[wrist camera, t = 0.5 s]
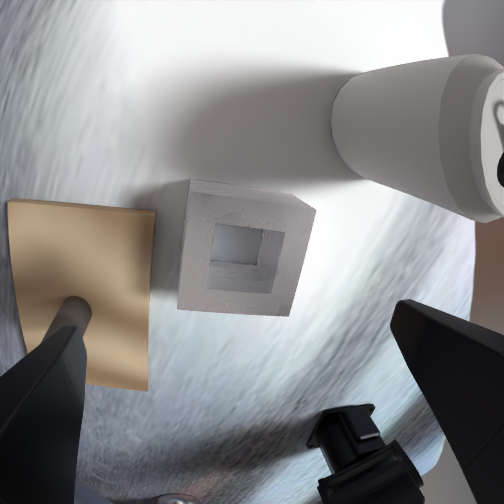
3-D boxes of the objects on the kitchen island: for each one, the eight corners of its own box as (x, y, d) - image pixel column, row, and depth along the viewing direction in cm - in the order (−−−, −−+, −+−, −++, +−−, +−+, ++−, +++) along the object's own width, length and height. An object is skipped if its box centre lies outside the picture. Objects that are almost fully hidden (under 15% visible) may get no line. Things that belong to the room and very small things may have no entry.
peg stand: (148, 382, 23) (144, 441, 18) (36, 365, 21) (14, 416, 15) (156, 211, 19) (144, 246, 13) (14, 198, 16) (-36, 225, 11)
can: (342, 193, 21) (476, 264, 10) (309, 84, 18) (450, 52, 7) (423, 162, 21) (556, 204, 10) (400, 66, 18) (541, 54, 7)
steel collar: (271, 285, 22) (288, 316, 18) (178, 277, 20) (177, 309, 17) (292, 194, 20) (316, 209, 16) (190, 179, 18) (191, 191, 15)
